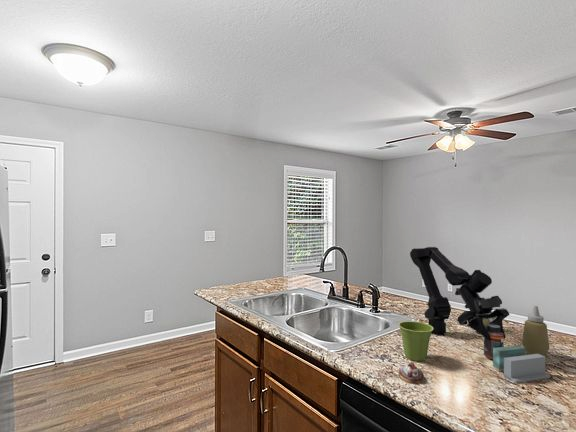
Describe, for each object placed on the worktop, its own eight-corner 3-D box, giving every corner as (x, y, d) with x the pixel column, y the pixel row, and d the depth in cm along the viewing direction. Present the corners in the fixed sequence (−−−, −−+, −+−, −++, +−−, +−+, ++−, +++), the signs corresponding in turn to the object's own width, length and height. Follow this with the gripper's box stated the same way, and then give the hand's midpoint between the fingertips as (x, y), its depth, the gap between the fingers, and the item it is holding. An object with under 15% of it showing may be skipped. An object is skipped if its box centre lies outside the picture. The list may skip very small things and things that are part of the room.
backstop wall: (503, 376, 102) (504, 357, 102) (537, 372, 106) (537, 353, 106) (515, 383, 99) (515, 363, 99) (550, 377, 102) (550, 358, 102)
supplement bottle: (507, 361, 111) (508, 328, 111) (491, 361, 111) (491, 328, 111) (495, 353, 117) (495, 322, 117) (479, 354, 117) (480, 322, 117)
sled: (472, 357, 116) (472, 338, 116) (496, 354, 119) (496, 336, 119) (499, 371, 106) (499, 351, 106) (525, 368, 109) (525, 348, 109)
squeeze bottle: (516, 350, 123) (516, 303, 123) (536, 350, 124) (536, 303, 124) (534, 359, 115) (534, 309, 115) (555, 359, 116) (555, 309, 116)
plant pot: (431, 353, 120) (431, 322, 120) (434, 367, 109) (435, 333, 109) (397, 348, 124) (398, 319, 124) (397, 361, 113) (398, 329, 113)
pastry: (409, 386, 96) (409, 369, 96) (392, 374, 103) (392, 359, 103) (430, 381, 99) (430, 365, 99) (412, 370, 106) (412, 355, 106)
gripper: (464, 289, 116) (490, 330, 105) (505, 286, 120) (534, 326, 110) (447, 305, 123) (470, 345, 112) (487, 302, 128) (512, 340, 117)
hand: (497, 339), depth 113 cm, fingers closed on supplement bottle, 6 cm apart
